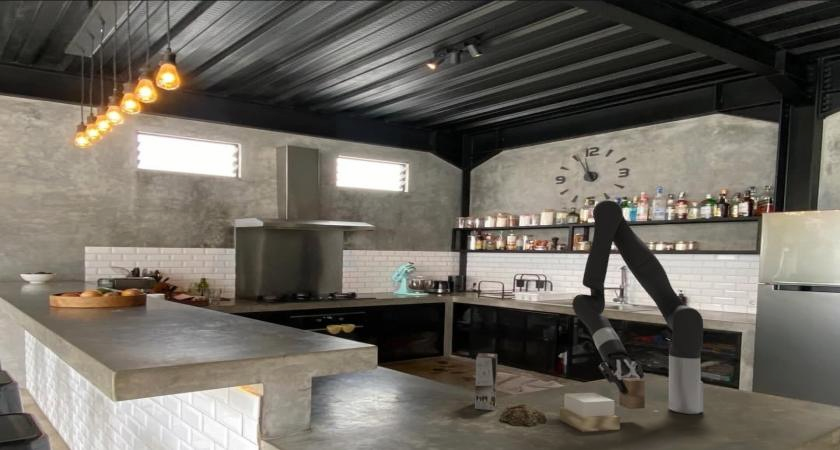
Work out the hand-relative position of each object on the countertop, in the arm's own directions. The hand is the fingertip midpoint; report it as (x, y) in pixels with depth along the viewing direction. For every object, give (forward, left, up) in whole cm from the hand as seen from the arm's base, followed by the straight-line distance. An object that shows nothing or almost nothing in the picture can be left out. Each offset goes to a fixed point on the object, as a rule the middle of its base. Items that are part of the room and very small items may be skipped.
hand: (633, 392), depth 167 cm
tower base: (+14, -1, -9) cm, 17 cm away
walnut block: (0, -1, -4) cm, 4 cm away
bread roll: (+32, -8, -9) cm, 34 cm away
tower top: (+14, -1, -5) cm, 15 cm away
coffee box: (+36, -25, -9) cm, 45 cm away
